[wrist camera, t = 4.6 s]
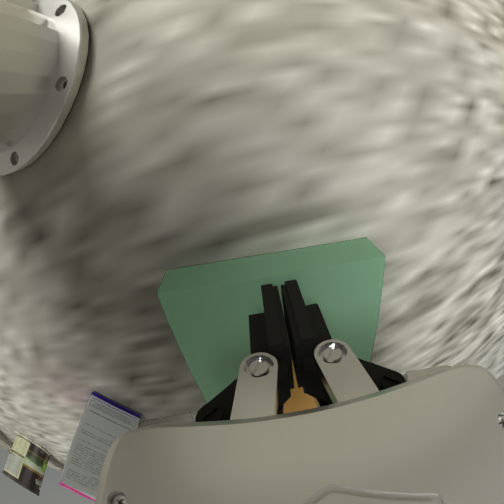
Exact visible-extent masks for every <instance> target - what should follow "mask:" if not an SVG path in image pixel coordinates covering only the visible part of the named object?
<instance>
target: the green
mask: <svg viewBox="0 0 504 504" xmlns="http://www.w3.org/2000/svg"><path fill="white" fill-rule="evenodd" d="M384 267H385V255H384V254H383V253H382V252H381V251H380V250H379V249H378V248H377V247H376V246H375V245H374V244H373V243H372V242H371V241H370V240H369V239H368V238H367V237H366V238H360V239H354V240H348V241H342V242H336V243H330V244H324V245H318V246H312V247H306V248H300V249H294V250H288V251H281V252H275V253H269V254H263V255H257V256H251V257H244V258H238V259H232V260H226V261H219V262H213V263H207V264H201V265H194V266H188V267H182V268H176V269H169V270H167V271H166V273H165V275H164V278H163V280H162V282H161V284H160V287H159V289H158V291H157V296H158V298H159V301H160V303H161V306H162V308H163V311H164V313H165V316H166V318H167V320H168V323H169V325H170V328H171V330H172V332H173V335H174V337H175V339H176V341H177V344H178V346H179V348H180V350H181V352H182V354H183V357H184V359H185V361H186V363H187V365H188V367H189V369H190V371H191V373H192V375H193V377H194V379H195V381H196V383H197V385H198V387H199V389H200V391H201V393H202V395H203V397H204V399H205V401H206V402H207V403H208V402H209V401H210V400H212V399H213V398H214V397H215V396H217V395H218V394H219V393H220V392H221V391H223V390H224V389H225V388H226V387H227V386H228V385H230V384H231V383H232V382H233V381H234V380H235V379H237V378H238V374H239V369H240V365H241V362H242V361H243V360H244V359H245V358H246V357H247V356H249V355H251V352H250V334H249V315H252V314H258V313H264V306H263V299H262V292H261V285H266V284H272V285H273V286H277V287H278V292H279V296H280V300H281V305H282V309H283V301H282V293H281V285H284V284H285V281H289V280H295V279H296V280H297V283H298V286H299V289H300V291H301V294H302V297H303V300H304V303H305V305H310V304H316V303H317V304H318V306H319V308H320V311H321V313H322V315H323V318H324V320H325V323H326V325H327V328H328V330H329V333H330V335H331V338H332V339H335V340H341V341H343V342H345V343H346V344H347V345H348V346H349V347H350V348H351V350H352V351H353V353H354V354H355V355H356V357H357V358H359V359H362V360H364V361H367V362H370V359H371V355H372V350H373V345H374V339H375V334H376V328H377V322H378V316H379V309H380V302H381V295H382V286H383V277H384ZM283 314H284V309H283ZM284 318H285V317H284ZM291 358H292V356H291Z"/></svg>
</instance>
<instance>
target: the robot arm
mask: <svg viewBox="0 0 504 504" xmlns="http://www.w3.org/2000/svg"><path fill="white" fill-rule="evenodd" d="M88 42H89V33H88V25H87V20H86V18H85V16H84V13H83V11H82V10H81V8H80V7H79V6H78V5H77V4H76V3H75V2H73V1H71V0H0V175H7V174H10V173H13V172H17V171H19V170H21V169H23V168H25V167H27V166H29V165H30V164H31V163H32V162H34V161H35V160H36V159H37V158H39V157H40V155H41V154H42V153H43V152H44V151H45V150H46V149H47V147H48V146H49V145H50V144H51V142H52V141H53V139H54V138H55V136H56V135H57V133H58V132H59V130H60V129H61V127H62V125H63V123H64V121H65V119H66V117H67V116H68V114H69V112H70V110H71V107H72V105H73V102H74V100H75V98H76V95H77V93H78V90H79V87H80V84H81V80H82V77H83V74H84V70H85V65H86V60H87V55H88ZM261 292H262V299H263V306H264V313H258V314H252V315H249V334H250V352H251V355H249V356H247V357H246V358H245V359H244V360H243V361H242V362H241V365H240V369H239V374H238V378H237V379H235V380H234V381H233V382H232V383H231V384H230V385H228V386H227V387H226V388H225V389H224V390H223V391H221V392H220V393H219V394H218V395H217V396H215V397H214V398H213V399H212V400H210V401H209V402H208V403H207V404H206V405H204V406H203V407H202V408H201V409H200V410H199V411H198V412H197V413H194V414H191V412H188V413H183V414H178V415H173V416H168V417H162V418H157V419H151V420H147V421H144V422H143V423H141V424H140V425H139V427H138V428H136V429H133V430H130V431H128V432H125V433H123V434H121V435H120V436H119V437H117V438H116V439H115V440H114V442H113V443H112V445H111V446H110V448H109V450H108V453H107V455H106V458H105V461H104V464H103V467H102V471H101V475H100V479H99V483H98V488H97V493H96V499H95V504H504V388H503V387H502V385H501V384H500V383H499V381H498V380H497V379H496V378H495V377H494V376H493V375H492V374H491V373H490V372H489V371H488V370H487V369H485V368H484V367H481V366H478V365H459V366H454V367H451V366H448V365H443V366H438V367H432V368H427V369H421V370H414V371H408V372H406V374H403V375H401V374H400V373H398V372H396V371H393V370H390V369H387V368H384V367H381V366H379V365H376V364H373V363H370V362H367V361H364V360H362V359H359V358H357V357H356V355H355V354H354V353H353V351H352V350H351V348H350V347H349V346H348V345H347V344H346V343H345V342H343V341H341V340H335V339H332V338H331V335H330V333H329V330H328V328H327V325H326V323H325V320H324V318H323V315H322V313H321V311H320V308H319V306H318V304H317V303H316V304H310V305H305V303H304V300H303V297H302V294H301V291H300V289H299V286H298V283H297V280H296V279H295V280H289V281H285V284H284V285H281V293H282V301H283V309H284V314H283V309H282V305H281V300H280V296H279V292H278V287H277V286H273V285H272V284H266V285H261ZM284 317H285V318H284ZM291 356H292V358H291ZM292 361H293V366H294V370H295V375H296V380H297V385H298V388H300V387H303V391H304V393H306V394H308V395H310V396H312V397H314V401H315V404H316V406H317V408H312V409H307V410H302V411H296V412H291V413H285V414H284V403H285V402H286V401H287V400H288V399H289V398H290V397H291V391H290V389H294V379H293V368H292Z"/></svg>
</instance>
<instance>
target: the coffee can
mask: <svg viewBox="0 0 504 504" xmlns="http://www.w3.org/2000/svg"><path fill="white" fill-rule="evenodd" d="M50 456H51V455H50V453H49V452H48V451H47V450H45V449H44V448H43V447H41V446H40V445H39V444H37V443H36V442H34V441H33V440H31V439H30V438H28V437H26V436H24V435H22V434H20V433H17V436H16V439H15V441H14V443H13V446H12V448H11V451H10V454H9V456H8V459H7V462H6V465H5V467H4V470H3V472H2V473H3V474H5V475H6V476H7V477H9V478H10V479H12V480H13V481H15V482H16V483H18V484H19V485H21V486H23V487H25V488H26V489H28V490H30V491H31V492H33V493H35V494H36V495H38V496H39V491H40V487H41V484H42V480H43V477H44V473H45V470H46V467H47V464H48V461H49V458H50Z"/></svg>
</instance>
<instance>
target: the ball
mask: <svg viewBox="0 0 504 504" xmlns="http://www.w3.org/2000/svg"><path fill="white" fill-rule="evenodd" d="M292 368H293V379H294V389H290V391H291V397H290V398H289V399H288V400H287V401H286V402H285V403H284V414H285V413H291V412H296V411H302V410H307V409H312V408H317V406H316V404H315V401H314V397H312V396H310V395H308V394H306V393H304V391H303V387H300V388H298V385H297V380H296V375H295V370H294V366H293V361H292Z"/></svg>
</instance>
